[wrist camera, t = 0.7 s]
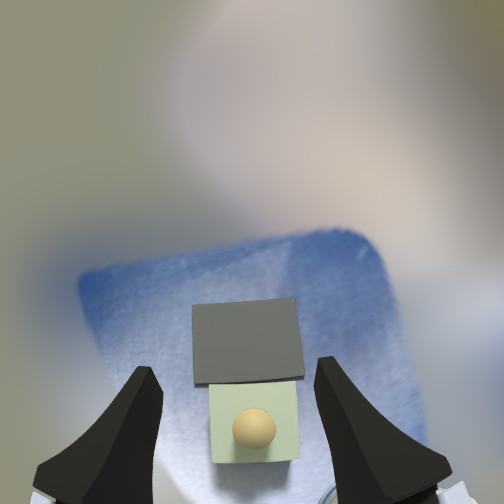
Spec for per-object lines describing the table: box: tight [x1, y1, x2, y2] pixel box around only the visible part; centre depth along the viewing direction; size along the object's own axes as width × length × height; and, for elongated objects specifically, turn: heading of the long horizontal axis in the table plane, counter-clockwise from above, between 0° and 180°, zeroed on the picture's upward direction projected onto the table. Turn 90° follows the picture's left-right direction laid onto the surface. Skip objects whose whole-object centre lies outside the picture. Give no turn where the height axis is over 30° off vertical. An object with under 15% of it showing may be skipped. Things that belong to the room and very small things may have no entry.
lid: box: [209, 381, 300, 463], centre depth 18 cm, size 7×7×6 cm
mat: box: [192, 297, 305, 384], centre depth 27 cm, size 8×11×1 cm
